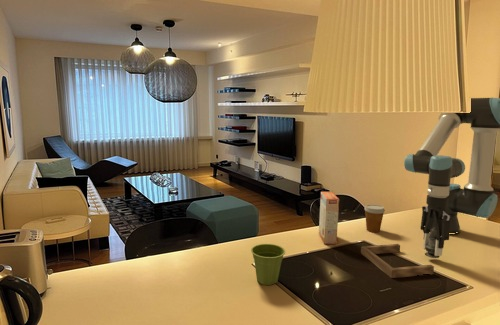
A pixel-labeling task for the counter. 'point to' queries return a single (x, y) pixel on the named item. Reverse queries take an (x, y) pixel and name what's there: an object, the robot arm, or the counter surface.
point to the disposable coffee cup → (374, 217)
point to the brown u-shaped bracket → (386, 268)
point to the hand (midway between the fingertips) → (432, 251)
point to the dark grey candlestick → (432, 244)
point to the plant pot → (267, 262)
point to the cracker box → (328, 217)
